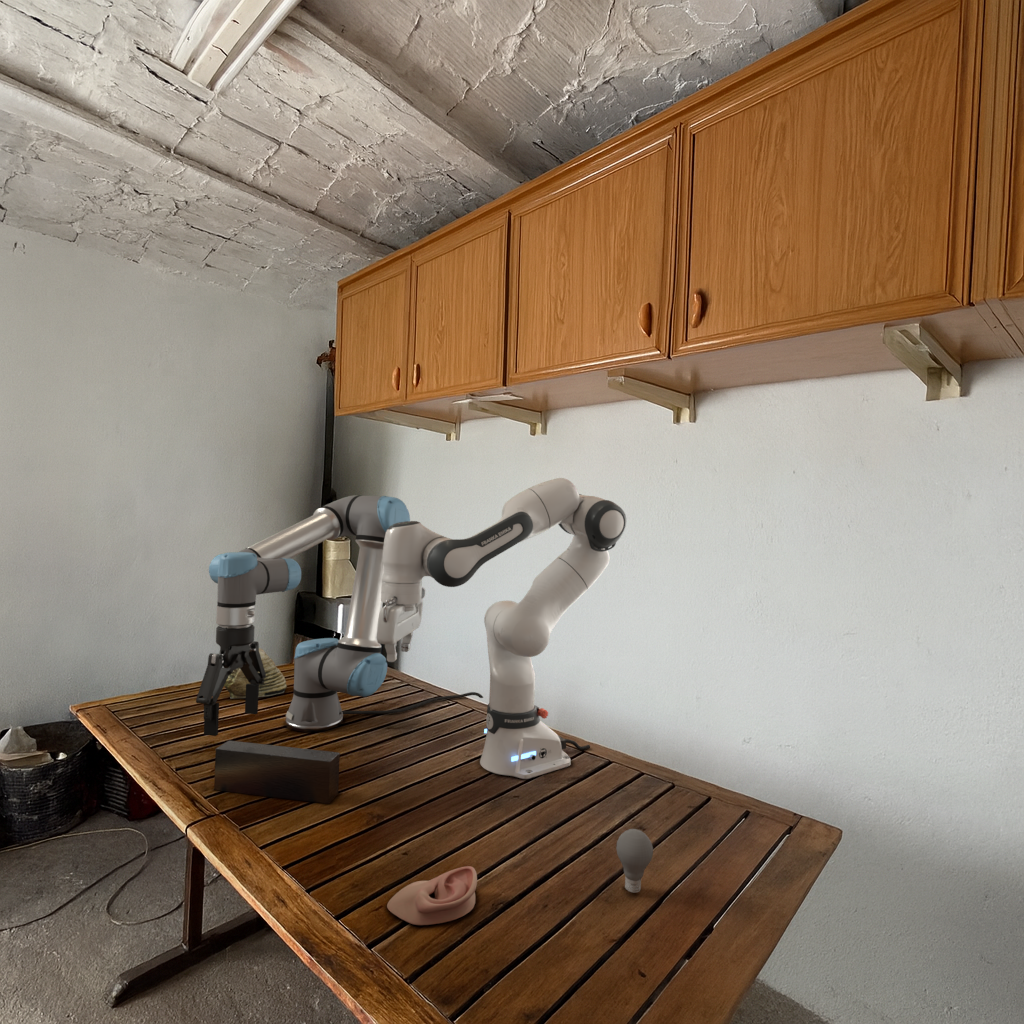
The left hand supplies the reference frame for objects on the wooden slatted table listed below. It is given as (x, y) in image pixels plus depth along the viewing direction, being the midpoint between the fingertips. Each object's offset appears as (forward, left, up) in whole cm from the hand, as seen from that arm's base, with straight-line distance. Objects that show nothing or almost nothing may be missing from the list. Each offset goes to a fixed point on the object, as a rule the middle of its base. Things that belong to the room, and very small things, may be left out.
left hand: (232, 723), depth 136 cm
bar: (-6, +9, -14) cm, 17 cm away
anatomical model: (-2, +60, -14) cm, 62 cm away
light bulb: (-27, +82, -14) cm, 88 cm away
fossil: (-36, -54, -14) cm, 67 cm away
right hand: (-26, +23, +15) cm, 38 cm away
